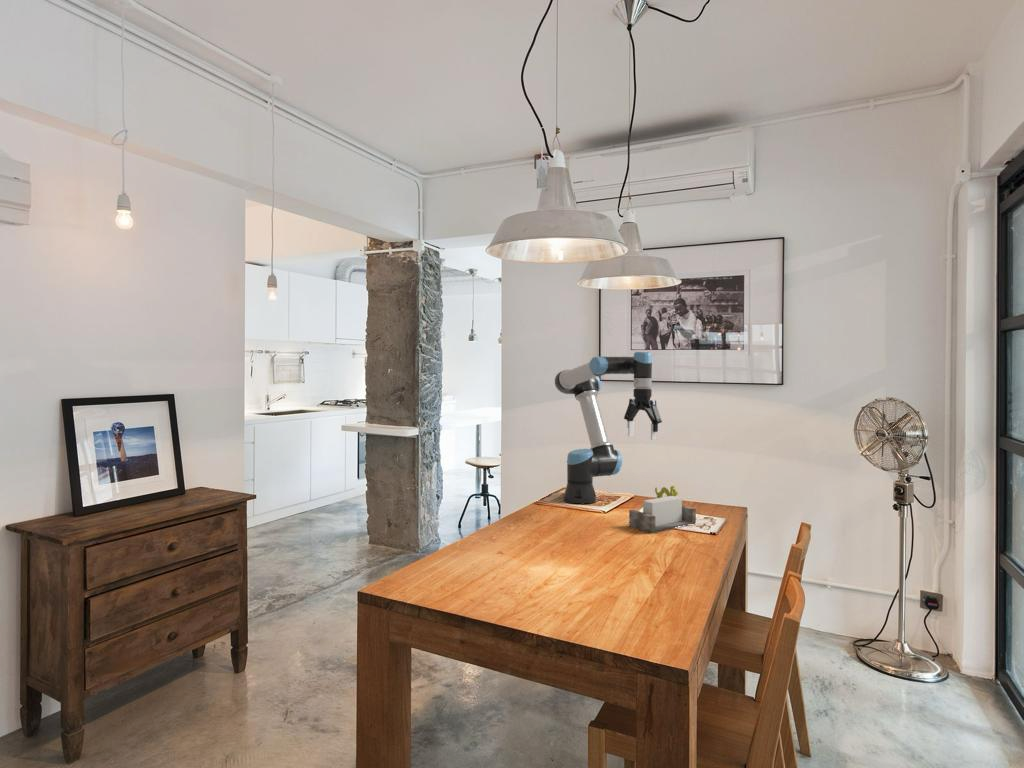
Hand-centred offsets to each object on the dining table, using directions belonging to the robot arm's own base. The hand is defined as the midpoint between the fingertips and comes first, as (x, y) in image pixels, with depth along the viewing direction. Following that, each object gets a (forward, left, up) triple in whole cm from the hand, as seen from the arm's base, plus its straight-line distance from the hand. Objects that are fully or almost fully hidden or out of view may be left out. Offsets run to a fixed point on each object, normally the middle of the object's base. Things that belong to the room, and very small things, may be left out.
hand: (642, 437), depth 255 cm
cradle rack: (+20, -8, -32) cm, 38 cm away
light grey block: (+20, -8, -30) cm, 37 cm away
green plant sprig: (-2, +16, -32) cm, 36 cm away
